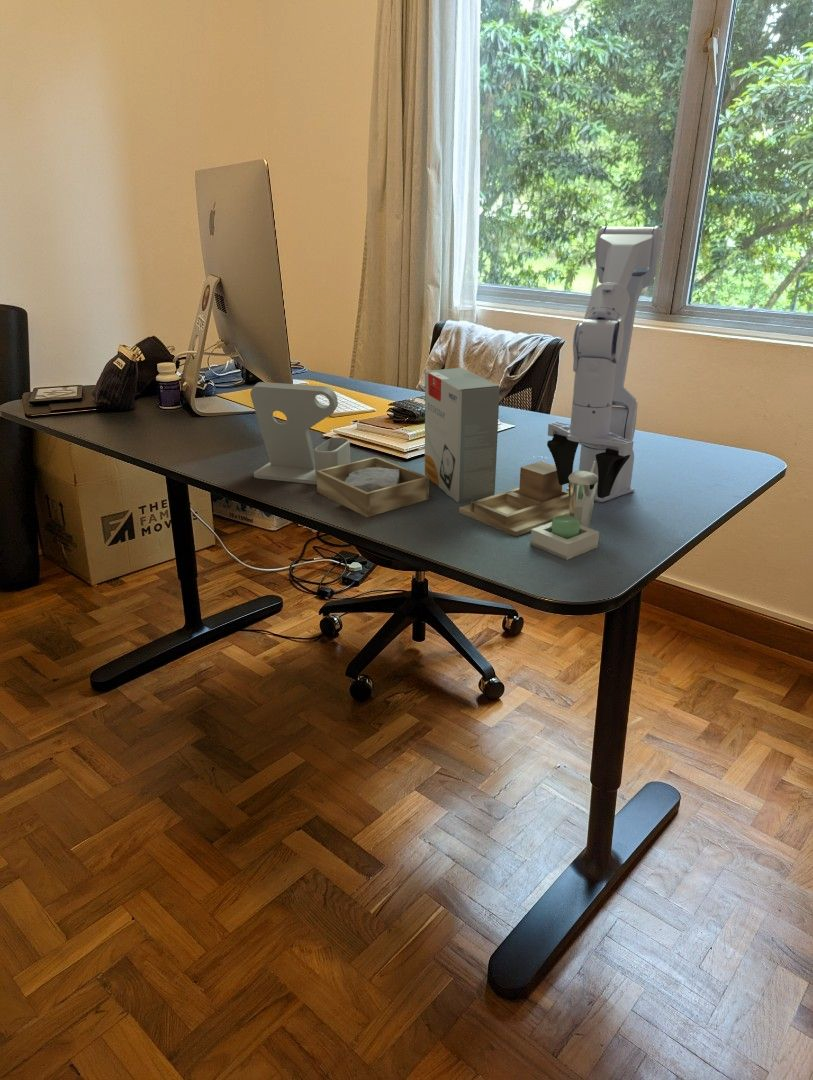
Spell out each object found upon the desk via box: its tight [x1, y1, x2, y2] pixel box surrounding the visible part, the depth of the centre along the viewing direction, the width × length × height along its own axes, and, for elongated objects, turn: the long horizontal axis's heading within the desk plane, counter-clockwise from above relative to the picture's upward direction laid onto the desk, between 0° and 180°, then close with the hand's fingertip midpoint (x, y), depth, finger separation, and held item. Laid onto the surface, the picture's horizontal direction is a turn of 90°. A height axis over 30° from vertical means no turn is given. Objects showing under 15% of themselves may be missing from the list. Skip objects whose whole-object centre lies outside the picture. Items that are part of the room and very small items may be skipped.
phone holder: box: [249, 381, 351, 485], centre depth 139 cm, size 17×10×18 cm, turn 72°
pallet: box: [458, 487, 569, 537], centre depth 124 cm, size 17×13×2 cm
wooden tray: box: [316, 456, 430, 518], centre depth 131 cm, size 13×15×4 cm
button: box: [551, 516, 580, 539], centre depth 110 cm, size 4×4×2 cm
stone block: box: [345, 467, 400, 492], centre depth 131 cm, size 12×5×10 cm
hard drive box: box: [424, 367, 501, 503], centre depth 132 cm, size 16×8×20 cm, turn 21°
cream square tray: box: [530, 522, 600, 561], centre depth 111 cm, size 7×7×2 cm
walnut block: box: [518, 461, 563, 502], centre depth 125 cm, size 5×5×6 cm
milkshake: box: [568, 462, 598, 528], centre depth 116 cm, size 4×5×10 cm
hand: (583, 489), depth 116 cm, fingers open, 7 cm apart
